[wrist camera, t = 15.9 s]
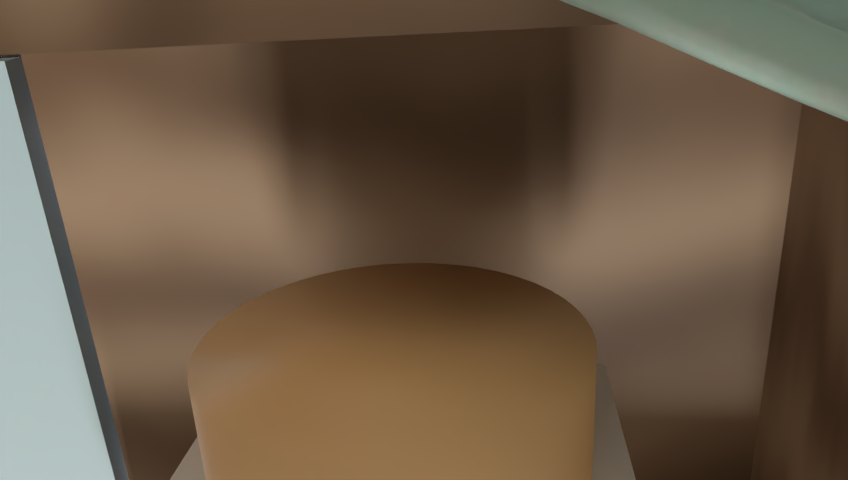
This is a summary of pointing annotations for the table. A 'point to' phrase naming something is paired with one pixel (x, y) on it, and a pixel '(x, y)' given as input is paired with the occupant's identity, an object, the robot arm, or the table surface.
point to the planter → (752, 40)
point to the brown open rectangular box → (452, 200)
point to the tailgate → (44, 319)
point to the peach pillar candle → (398, 380)
